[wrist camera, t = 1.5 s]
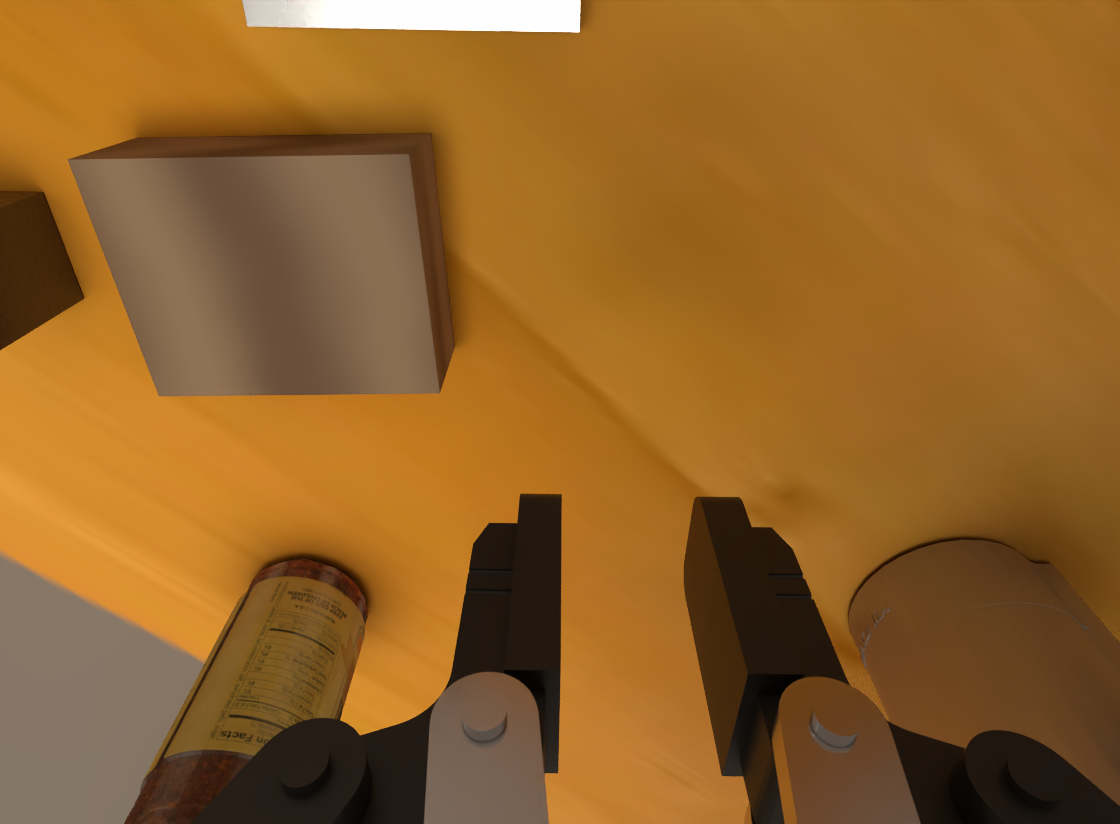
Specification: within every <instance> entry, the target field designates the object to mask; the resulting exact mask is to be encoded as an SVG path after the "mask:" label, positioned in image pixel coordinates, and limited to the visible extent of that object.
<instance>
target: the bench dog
mask: <svg viewBox="0 0 1120 824" xmlns="http://www.w3.org/2000/svg"><path fill="white" fill-rule="evenodd" d="M83 299H84V297H83V295H82V292H81V289H80V287H79V284H78V282H77V279H76V276H75V274H74V271H73V269H72V266H71V263H70V261H69V258H68V256H67V253H66V250H65V248H64V245H63V243H62V240H61V237H60V235H59V232H58V230H57V227H56V225H55V222H54V219H53V217H52V214H51V212H50V209H49V206H48V204H47V201H46V199H45V196H44V193H43V192H8V191H0V350H1V349H3V348H5V347H6V346H8V345H10V344H11V343H13V342H14V341H16V340H18V339H19V338H21V337H23V336H24V335H26V334H27V333H29V332H31V331H32V330H34V329H36V328H37V327H39V326H40V325H42V324H44V323H45V322H47V321H49V320H50V319H52V318H53V317H55V316H57V315H58V314H60V313H62V312H63V311H65V310H66V309H68V308H70V307H71V306H73V305H75V304H76V303H78V302H79V301H81V300H83Z"/></svg>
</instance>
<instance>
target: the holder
mask: <svg viewBox="0 0 1120 824" xmlns="http://www.w3.org/2000/svg"><path fill="white" fill-rule="evenodd" d="M242 1H243V6H244V11H245V16H246V21H247V26H254V27H311V28H369V29H426V30H484V31H541V32H580V0H242Z"/></svg>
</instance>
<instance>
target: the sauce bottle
mask: <svg viewBox="0 0 1120 824" xmlns="http://www.w3.org/2000/svg"><path fill="white" fill-rule="evenodd" d="M367 616H368V611H367V605H366V601H365V597H364V596H363V595H362V593H361V591H360V589H359V587H358V586H357V584H356V583H355V581H354V580H352V579H351V578H349V577H348V576H347V575H346V574H345V573H343V572H342V571H340V570H338V569H337V568H335V567H332V566H329V565H326V564H325V563H323V562H318V561H313V560H309V559H305V558H302V559H297V560H289V561H285V562H281V563H278V564H274V565H272V566H269V567H267V568H265V569H263V570H261V571H260V572H259V573H258V574H257V575H256V577H255V578H254V579H253V581H252V583H251V585H250V586H249V589H248V591H247V592H246V593H245V594H244V595H243V596H242V597H241V598H240V599H239V601H238V602H237V604H236V606H235V608H234V610H233V611H232V613H231V615H230V617H229V619H228V621H227V622H226V624H225V626H224V628H223V630H222V632H221V634H220V636H219V637H218V639H217V641H216V643H215V645H214V647H213V649H212V651H211V652H210V654H209V656H208V658H207V660H206V662H205V664H204V666H203V668H202V670H201V672H200V674H199V675H198V677H197V679H196V681H195V683H194V685H193V687H192V689H191V691H190V692H189V694H188V696H187V698H186V700H185V702H184V704H183V706H182V708H181V709H180V711H179V713H178V715H177V717H176V719H175V721H174V723H173V725H172V726H171V729H170V731H169V732H168V734H167V736H166V738H165V740H164V742H163V744H162V746H161V747H160V749H159V751H158V753H157V755H156V757H155V759H154V761H153V763H152V765H151V766H150V768H149V771H148V773H147V774H146V776H145V778H144V780H143V782H142V785H141V790H140V795H139V796H138V798H137V800H136V802H135V805H134V807H133V808H132V810H131V812H130V813H129V816H128V817H127V819H126V821H125V823H124V824H190V823H191V822H192V821H193V820H194V819H195V818H196V817H197V816H198V815H199V814H200V813H201V812H202V810H203V809H204V808H205V807H206V806H207V805H208V804H209V803H210V802H211V801H212V800H213V799H214V798H215V797H216V796H217V795H218V794H219V793H220V791H221V790H222V789H223V788H224V787H225V786H226V785H227V784H228V783H229V782H230V781H231V780H232V779H233V778H234V777H235V776H236V775H237V773H238V772H239V771H240V770H241V769H242V768H243V767H244V766H245V765H246V764H247V763H248V762H249V761H250V760H251V759H252V758H253V757H254V756H255V754H256V753H257V752H258V751H259V750H260V749H261V748H262V747H263V746H264V745H265V744H266V743H267V742H268V741H269V740H270V739H271V738H273V737H274V736H275V735H277V734H278V733H279V732H281V731H282V730H284V729H286V728H288V727H289V726H291V725H294V724H296V723H299V722H301V721H305V720H309V719H314V718H332V719H336V720H340V718H341V715H342V710H343V707H344V704H345V701H346V697H347V694H348V691H349V687H350V684H351V680H352V677H353V674H354V670H355V667H356V664H357V660H358V657H359V653H360V650H361V646H362V643H363V639H364V635H365V622H366V620H367Z"/></svg>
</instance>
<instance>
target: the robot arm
mask: <svg viewBox="0 0 1120 824" xmlns="http://www.w3.org/2000/svg"><path fill="white" fill-rule="evenodd" d="M561 505H562V494H520V501H519V512H518V523H489V524H488V525H487V526H486V528H485V529H484V530H483V532H482V533H481V534H480V536H479V537H478V538H477V540H476V541H475V542H474V544H473V549H472V555H471V561H470V567H469V573H468V578H467V584H466V594H465V596H464V602H463V608H462V614H461V620H460V626H459V632H458V638H457V644H456V650H455V655H454V661H453V667H452V672H451V676H450V679H449V682H448V684H447V686H446V688H445V690H444V691H443V693H442V694H441V696H440V697H439V698H438V699H437V700H436V701H435V703H434V704H432V705H431V706H430V707H429V708H428V709H427V710H425V711H424V712H422V713H421V714H420V715H418V716H416V717H414V718H412V719H410V720H408V721H406V722H403V723H400V724H398V725H394V726H391V727H388V728H384V729H381V730H378V731H374V732H371V733H368V734H364V735H361V736H360V735H359V734H358V733H357V732H356V730H355V729H354V728H353V727H351V726H350V725H348V724H347V723H345V722H342V721H340V720H336V719H332V718H314V719H309V720H305V721H301V722H299V723H296V724H294V725H291V726H289V727H288V728H286V729H284V730H282V731H281V732H279V733H278V734H277V735H275V736H274V737H273V738H271V739H270V740H269V741H268V742H267V743H266V744H265V745H264V746H263V747H262V748H261V749H260V750H259V751H258V752H257V753H256V754H255V756H254V757H253V758H252V759H251V760H250V761H249V762H248V763H247V764H246V765H245V766H244V767H243V768H242V769H241V770H240V771H239V772H238V773H237V775H236V776H235V777H234V778H233V779H232V780H231V781H230V782H229V783H228V784H227V785H226V786H225V787H224V788H223V789H222V790H221V791H220V793H219V794H218V795H217V796H216V797H215V798H214V799H213V800H212V801H211V802H210V803H209V804H208V805H207V806H206V807H205V808H204V809H203V810H202V812H201V813H200V814H199V815H198V816H197V817H196V818H195V819H194V820H193V821H192V822H191V823H190V824H549V820H548V810H547V799H546V788H545V773H558V754H559V711H560V662H561ZM684 589H685V596H686V602H687V607H688V611H689V616H690V621H691V626H692V631H693V636H694V641H695V646H696V651H697V656H698V661H699V666H700V670H701V675H702V680H703V685H704V690H705V695H706V700H707V705H708V710H709V715H710V720H711V724H712V729H713V734H714V739H715V744H716V749H717V754H718V759H719V764H720V769H721V774H722V776H743V777H744V781H745V785H746V790H747V794H748V798H749V803H748V806H747V810H746V813H745V820H744V822H745V824H1120V642H1119V641H1118V640H1117V639H1116V638H1115V637H1114V636H1113V634H1112V633H1111V632H1110V631H1109V630H1108V629H1107V627H1106V626H1105V625H1104V624H1103V623H1102V622H1101V621H1100V619H1099V618H1098V617H1097V616H1096V615H1095V614H1094V612H1093V611H1092V610H1091V609H1090V608H1089V607H1088V606H1087V604H1086V603H1085V602H1084V601H1083V600H1082V599H1081V597H1080V596H1079V595H1078V594H1077V593H1076V592H1075V591H1074V589H1073V588H1072V587H1071V586H1070V585H1069V584H1068V582H1067V581H1066V580H1065V579H1064V578H1063V577H1062V576H1061V574H1060V573H1059V572H1058V571H1057V570H1056V569H1055V567H1054V566H1053V565H1051V564H1037V563H1032V562H1031V561H1029V560H1027V559H1026V558H1025V557H1024V556H1022V555H1021V554H1020V553H1019V552H1017V551H1016V550H1014V549H1012V548H1009V547H1007V546H1005V545H1002V544H999V543H994V542H989V541H984V540H956V541H948V542H941V543H937V544H933V545H930V546H926V547H922V548H919V549H917V550H914V551H912V552H910V553H907V554H905V555H903V556H900V557H899V558H897V559H895V560H894V561H892V562H890V563H889V564H887V565H885V566H884V567H882V568H881V569H880V570H879V571H877V572H876V573H875V574H874V575H873V576H872V577H870V578H869V579H868V580H867V581H866V583H865V584H864V585H863V586H862V588H861V589H860V590H859V591H858V592H857V594H856V596H855V598H854V600H853V602H852V604H851V607H850V612H849V617H848V621H849V629H850V633H851V635H852V637H853V639H854V641H855V644H856V646H857V648H858V650H859V653H860V656H861V660H862V662H863V664H864V666H865V668H866V669H867V671H868V673H869V675H870V677H871V680H872V682H873V684H874V686H875V688H876V691H877V693H878V695H879V697H880V700H881V702H882V705H883V707H884V709H885V711H886V714H887V716H888V718H889V720H890V722H891V723H890V722H889V721H887V720H886V719H885V717H884V715H883V714H882V712H881V711H880V710H879V709H878V707H877V706H876V705H875V704H874V703H873V702H872V701H871V700H870V699H869V698H868V697H867V696H865V695H864V694H863V693H861V692H860V691H859V690H857V689H855V688H854V687H852V686H850V684H849V682H848V680H847V678H846V676H845V674H844V671H843V669H842V667H841V664H840V662H839V659H838V657H837V655H836V652H835V650H834V647H833V645H832V643H831V640H830V638H829V635H828V633H827V631H826V628H825V626H824V623H823V621H822V619H821V616H820V614H819V611H818V609H817V607H816V604H815V602H814V600H812V599H811V592H810V590H809V587H808V585H807V583H806V580H805V579H803V573H802V571H801V568H800V566H799V563H798V561H797V559H796V556H795V554H794V551H793V549H792V548H791V547H790V546H789V545H788V544H787V543H786V542H785V541H784V540H783V539H782V538H781V537H780V536H779V535H778V534H777V533H776V532H775V531H774V530H773V529H772V528H767V527H751V524H750V521H749V518H748V516H747V513H746V510H745V507H744V504H743V502H742V500H741V499H740V498H739V497H696V498H695V500H694V504H693V509H692V515H691V522H690V528H689V535H688V541H687V548H686V554H685V561H684Z"/></svg>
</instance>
